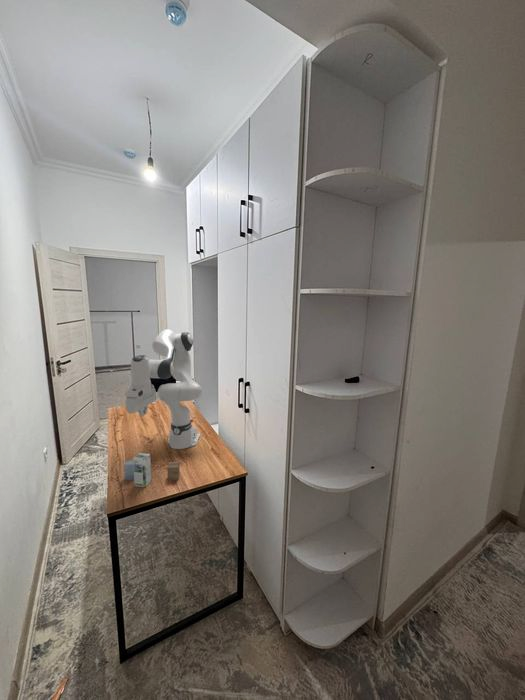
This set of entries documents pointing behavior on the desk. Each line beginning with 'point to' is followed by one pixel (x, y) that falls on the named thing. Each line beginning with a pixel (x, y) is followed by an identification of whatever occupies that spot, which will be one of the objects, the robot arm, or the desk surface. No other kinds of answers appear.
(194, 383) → the robot arm
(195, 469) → the desk surface
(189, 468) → the desk surface
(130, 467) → the slate cylinder
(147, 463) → the syrup box
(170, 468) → the walnut block
